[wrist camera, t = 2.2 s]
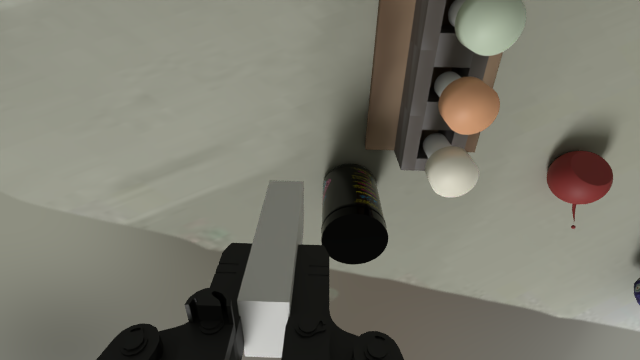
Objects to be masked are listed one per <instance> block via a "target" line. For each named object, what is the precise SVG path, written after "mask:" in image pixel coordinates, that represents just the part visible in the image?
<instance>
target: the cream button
mask: <svg viewBox="0 0 640 360" xmlns="http://www.w3.org/2000/svg"><path fill="white" fill-rule="evenodd" d="M423 149H424V151H425V153H426V155H427V157H428V160H427V162H426V166H425V172H426V175H427V178H428V180H429V182H430V184H431V186H432V188H433V190H434V191H435V192H436V193H437V194H439V195H441V196H443V197H458V196H461V195H463V194H465V193H467V192H469V191H470V190H471V189H472V188H473V187H474V186H475V184H476V183H477V181H478V178H479V169H478V167H477V165H476V164H475V162H474V161H473V160H472V158H471V157H470V155H469V154H468V153H467V152H466V151H465V150H464V149H462V148H460V147H456V146H451V144H450V143H449V141H448V140H447V138H446V137H445V136H444V135H443V134H441V133H433V134H430V135H429V136H427V137H426V138H425V140H424V142H423Z"/></svg>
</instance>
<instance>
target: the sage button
mask: <svg viewBox="0 0 640 360" xmlns="http://www.w3.org/2000/svg"><path fill="white" fill-rule="evenodd" d="M448 20H449V22H450V24H451V25H452V26H454V27H455V33H456V36H457V38H458V40H459V41H460V43H461V44H462V45H464V46H465V47H467V48H468V49H470V50H471V51H473V52H475V53H476V54H479V55H483V56H492V55H496V54H499V53H501V52H503V51H505V50H507V49H508V48H510V47H511V46H512V45H513V44H514V43H515V42H516V41H517V39H518V38H519V36H520V35H521V33H522V31H523V29H524V26H525V22H526V9H525V6H524V4H523V2H522V0H455V1H454V2H453V3H452V4H451V6H450V8H449V11H448Z"/></svg>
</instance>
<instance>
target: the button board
mask: <svg viewBox="0 0 640 360" xmlns="http://www.w3.org/2000/svg"><path fill="white" fill-rule="evenodd" d="M454 1H455V0H379V6H378V16H377V27H376V37H375V47H374V57H373V68H372V78H371V88H370V99H369V109H368V119H367V130H366V140H365V148H366V150H394V152H395V154H396V157H397V160H398V163H399V166H400V169H401V170H419V171H425V166H426V162H427V160H428V157H427V155H426V153H425V151H424V149H423V142H424V140H425V138H426V137H427V136H429V135H430V134H433V133H441V134H443V135H444V136H445V137H446V138H447V140H448V141H449V143H450V144H451V146H456V147H460V148H462V149H464V150H465V151H466V152H475V149H476V145H477V142H478V138H479V135H480V132H478V133H475V134H470V135H463V134H459V133H456V132H454V131H453V130H452V129H451V128H450V127H449V126H448V125H447V123H446V122H445V120H444V119H443V118H442V116H441V115H440V112H439V108H438V103H439V98H440V97H439V96H438V95H437V94H436V92H435V90H434V83H435V81H436V79H437V78H438V76H439V75H441V74H442V73H444V72H448V71H452V72H455V73H457V74H458V75H459V76H460V77H461V78H462V77H476V78H478V79H480V80H482V81H483V82H484V83H486V84H487V85H488V86H490V87H491V88H492V89H493V85H494V82H495V78H496V75H497V71H498V68H499V64H500V60H501V57H502V53H503V52H501V53H499V54H496V55H492V56H483V55H479V54H476V53H475V52H473V51H471V50H470V49H468V48H467V47H465V46H464V45H462V44H461V43H460V41H459V40H458V38H457V36H456V33H455V27H454V26H452V25H451V24H450V22H449V20H448V11H449V8H450V6H451V4H452V3H453V2H454Z"/></svg>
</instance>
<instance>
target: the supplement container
mask: <svg viewBox="0 0 640 360" xmlns="http://www.w3.org/2000/svg"><path fill="white" fill-rule="evenodd" d="M321 233H322V245H324V247H325V248H326V250H327V252H328V254H329V256H330V257H331V258H333V259H334V260H336V261H338V262H341V263H345V264H362V263H366V262H369V261H371V260H373V259H375V258H377V257H378V256H379V255H380V254H381V253H382V252H383V251H384V250H385V248H386V246H387V243H388V233H387V229H386V223H385V220H384V217H383V212H382V208H381V203H380V198H379V194H378V189H377V185H376V180H375V178H374V176H373V175H372V173H371V172H370V171H369V170H367V169H366V168H364V167H362V166H360V165H356V164H344V165H341V166H338V167H336V168H334V169H333V170H332V171H330V172H329V173H328V175H327V176H326V178H325V179H324V182H323V202H322V228H321Z"/></svg>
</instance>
